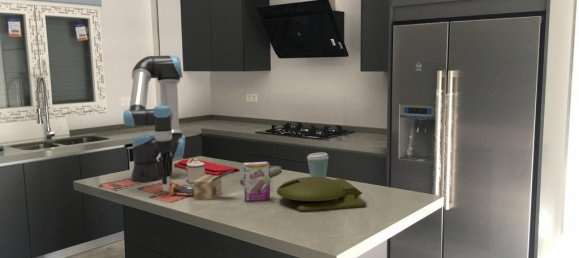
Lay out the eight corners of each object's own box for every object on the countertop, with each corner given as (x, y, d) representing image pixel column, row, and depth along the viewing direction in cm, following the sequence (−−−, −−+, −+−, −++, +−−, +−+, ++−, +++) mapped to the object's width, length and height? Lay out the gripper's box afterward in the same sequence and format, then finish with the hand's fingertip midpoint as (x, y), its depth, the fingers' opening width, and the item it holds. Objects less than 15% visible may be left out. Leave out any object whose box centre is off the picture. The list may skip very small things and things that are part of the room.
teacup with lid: (209, 180, 251) (208, 158, 249) (196, 184, 244) (195, 161, 242) (193, 177, 258) (192, 156, 257) (179, 181, 251) (178, 159, 249)
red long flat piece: (217, 177, 260) (217, 170, 260) (173, 167, 288) (172, 161, 287) (239, 172, 272) (239, 165, 271) (194, 163, 299) (194, 157, 299)
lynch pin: (170, 196, 222) (169, 185, 221) (175, 193, 227) (175, 182, 226) (196, 197, 218) (196, 186, 218) (201, 194, 223) (201, 183, 223)
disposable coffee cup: (315, 187, 233) (315, 156, 231) (303, 183, 242) (302, 153, 240) (333, 184, 239) (333, 154, 237) (320, 180, 248) (319, 150, 246)
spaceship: (345, 189, 229) (345, 169, 228) (368, 208, 199) (368, 185, 198) (272, 194, 223) (271, 173, 221) (284, 215, 193) (283, 190, 192)
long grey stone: (234, 186, 244) (251, 190, 239) (234, 176, 242) (251, 179, 238) (270, 169, 274) (285, 171, 269) (270, 160, 273) (285, 162, 268)
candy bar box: (245, 202, 210) (243, 165, 208) (243, 199, 215) (242, 162, 213) (270, 200, 212) (269, 163, 210) (268, 197, 217) (267, 161, 215)
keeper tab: (212, 181, 215) (211, 179, 215) (217, 178, 221) (216, 176, 221) (228, 174, 212) (227, 171, 212) (234, 171, 218) (233, 169, 218)
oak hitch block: (194, 198, 217) (193, 181, 216) (205, 191, 229) (205, 175, 228) (210, 199, 215) (210, 182, 214) (221, 192, 227) (220, 175, 226)
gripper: (163, 142, 214) (166, 194, 218) (178, 137, 227) (180, 187, 230) (148, 141, 216) (151, 193, 220) (163, 137, 229) (166, 186, 232)
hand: (166, 190), depth 225 cm, fingers closed
